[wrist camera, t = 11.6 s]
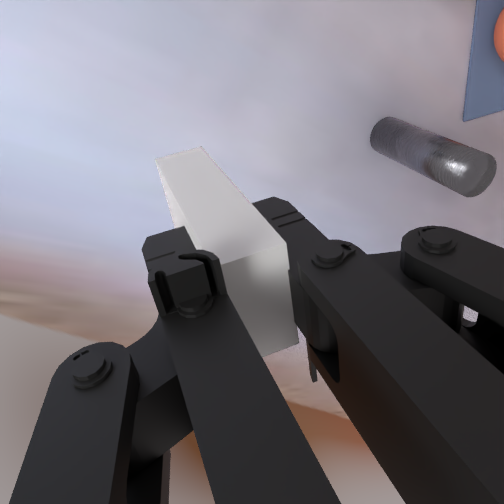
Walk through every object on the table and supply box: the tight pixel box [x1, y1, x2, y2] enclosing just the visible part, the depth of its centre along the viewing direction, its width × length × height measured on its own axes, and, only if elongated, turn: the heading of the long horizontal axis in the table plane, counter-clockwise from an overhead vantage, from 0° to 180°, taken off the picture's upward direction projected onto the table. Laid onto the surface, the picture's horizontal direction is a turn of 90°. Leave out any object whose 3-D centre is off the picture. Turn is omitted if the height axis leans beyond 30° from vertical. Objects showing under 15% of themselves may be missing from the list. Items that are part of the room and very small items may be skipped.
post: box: [370, 117, 496, 197], centre depth 29 cm, size 3×3×9 cm
